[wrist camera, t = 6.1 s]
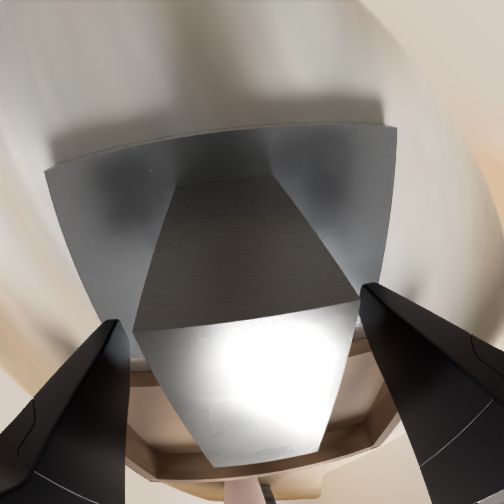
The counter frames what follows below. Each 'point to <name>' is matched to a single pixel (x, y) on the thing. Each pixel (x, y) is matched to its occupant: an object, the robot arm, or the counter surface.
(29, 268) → the counter surface
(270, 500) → the beverage cup
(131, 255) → the cover plate
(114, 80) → the counter surface
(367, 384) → the walnut box
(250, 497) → the smoothie
